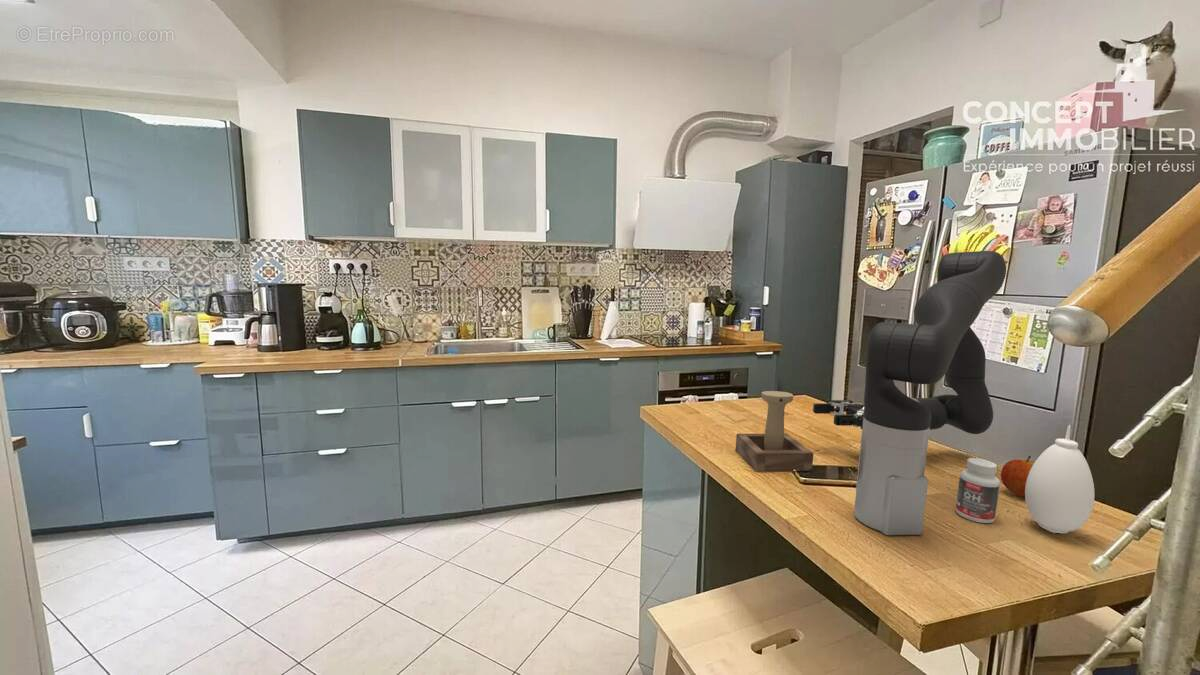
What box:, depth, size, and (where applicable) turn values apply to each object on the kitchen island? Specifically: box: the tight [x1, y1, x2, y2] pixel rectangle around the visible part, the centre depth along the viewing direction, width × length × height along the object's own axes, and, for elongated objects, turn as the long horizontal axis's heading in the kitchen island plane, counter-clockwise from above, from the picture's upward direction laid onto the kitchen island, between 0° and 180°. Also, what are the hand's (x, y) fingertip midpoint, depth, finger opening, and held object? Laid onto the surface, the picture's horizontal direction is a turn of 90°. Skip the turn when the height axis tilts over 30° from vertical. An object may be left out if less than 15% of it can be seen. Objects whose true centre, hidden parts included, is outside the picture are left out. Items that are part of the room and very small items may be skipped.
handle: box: [761, 390, 794, 450], centre depth 104 cm, size 5×6×15 cm
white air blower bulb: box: [1024, 424, 1095, 534], centre depth 76 cm, size 8×8×18 cm
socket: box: [735, 432, 814, 473], centre depth 104 cm, size 12×12×4 cm
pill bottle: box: [955, 457, 1001, 524], centre depth 81 cm, size 5×5×10 cm
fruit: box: [1000, 455, 1035, 499], centre depth 89 cm, size 7×7×8 cm
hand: (823, 414), depth 104 cm, fingers open, 8 cm apart
